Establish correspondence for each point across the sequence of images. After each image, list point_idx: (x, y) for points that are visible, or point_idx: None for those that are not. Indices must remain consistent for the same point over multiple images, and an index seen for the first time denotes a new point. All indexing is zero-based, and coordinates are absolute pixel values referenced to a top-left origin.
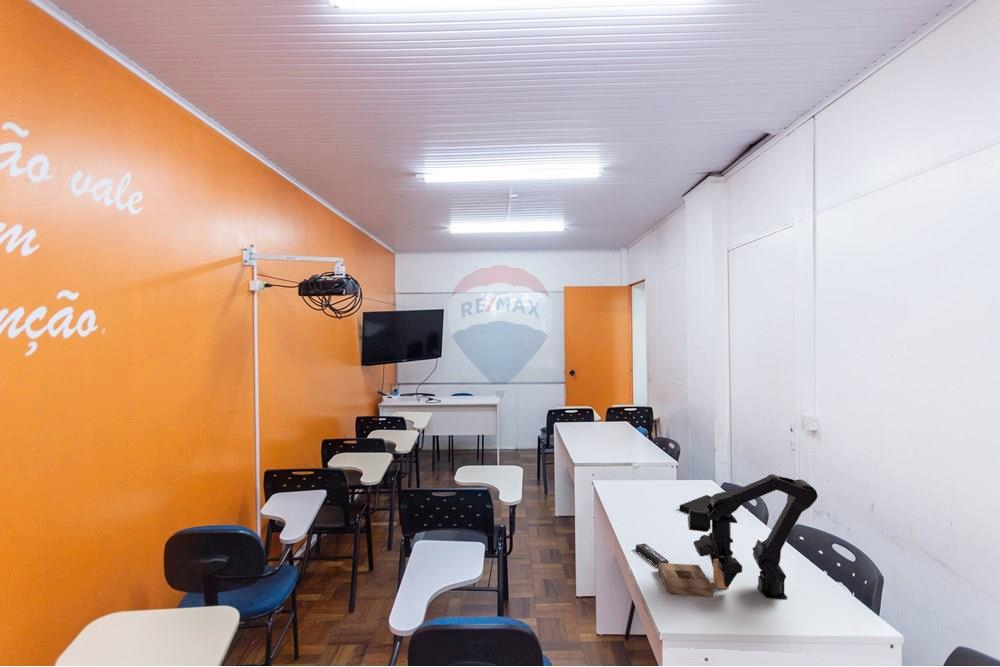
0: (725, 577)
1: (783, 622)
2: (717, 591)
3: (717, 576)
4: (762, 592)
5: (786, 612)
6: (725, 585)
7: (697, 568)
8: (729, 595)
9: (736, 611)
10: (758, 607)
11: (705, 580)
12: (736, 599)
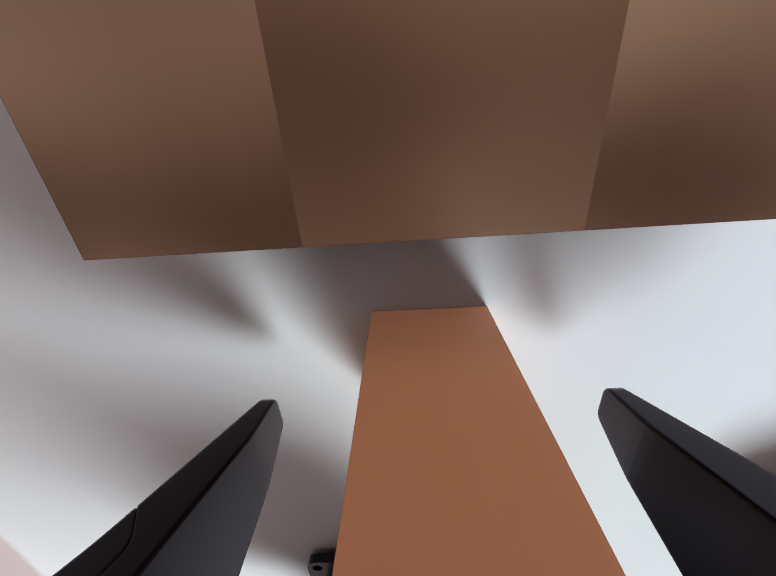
0: (114, 542)
1: (76, 538)
2: (305, 293)
3: (359, 405)
4: None
5: None
6: (249, 413)
7: (715, 153)
8: (266, 372)
9: (23, 351)
10: None
11: (262, 187)
12: (221, 402)
